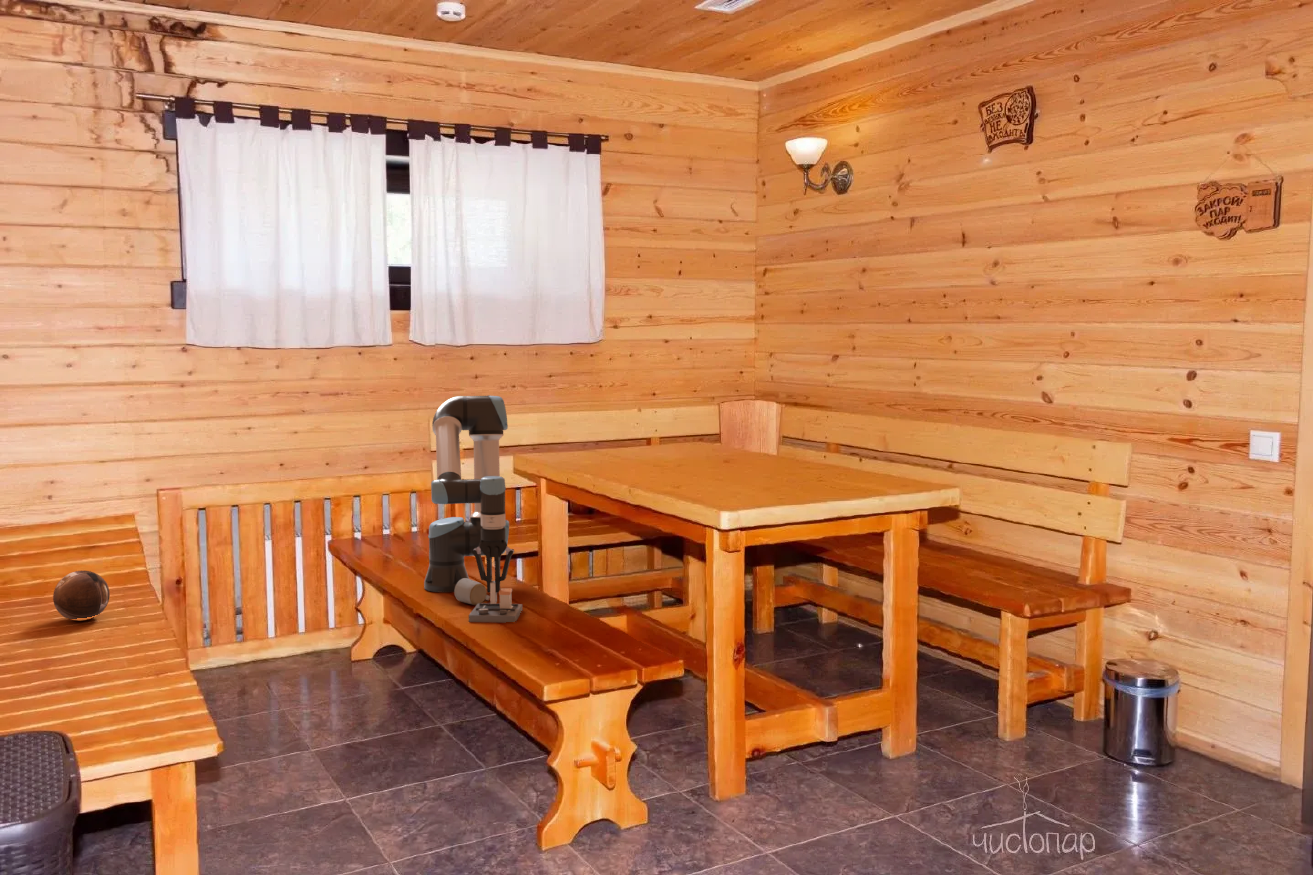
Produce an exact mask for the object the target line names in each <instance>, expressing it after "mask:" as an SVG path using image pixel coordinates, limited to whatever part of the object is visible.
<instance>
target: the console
mask: <svg viewBox="0 0 1313 875" xmlns="http://www.w3.org/2000/svg"><path fill="white" fill-rule="evenodd" d="M521 611H522V612H523V603H512V606H511V607H510V608H500V603H497V602H496V603H495V604H490V602H487V603H485V602H482V603H480V604H479V603H478V604H477V605H475V607H474V608H473V609H472V610H471V611H470V612H469V615H468V622H469V623H506V622H515V621H516V622H517V620H518V619H519V617H520V615H521V614H522V612H521ZM520 613H521V614H520ZM516 622H515V623H516Z"/></svg>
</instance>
